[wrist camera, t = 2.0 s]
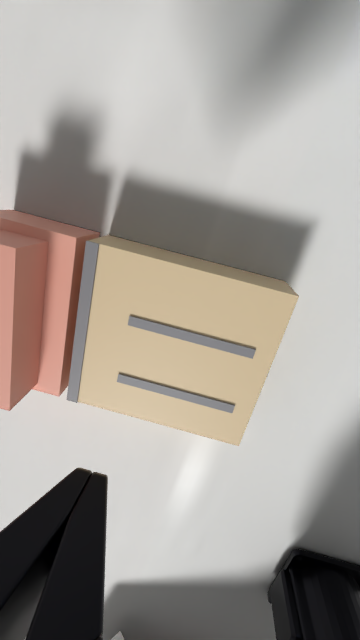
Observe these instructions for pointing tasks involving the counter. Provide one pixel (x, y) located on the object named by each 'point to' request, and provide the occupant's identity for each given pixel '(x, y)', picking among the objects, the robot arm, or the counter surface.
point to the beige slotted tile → (174, 337)
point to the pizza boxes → (118, 636)
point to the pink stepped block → (38, 303)
